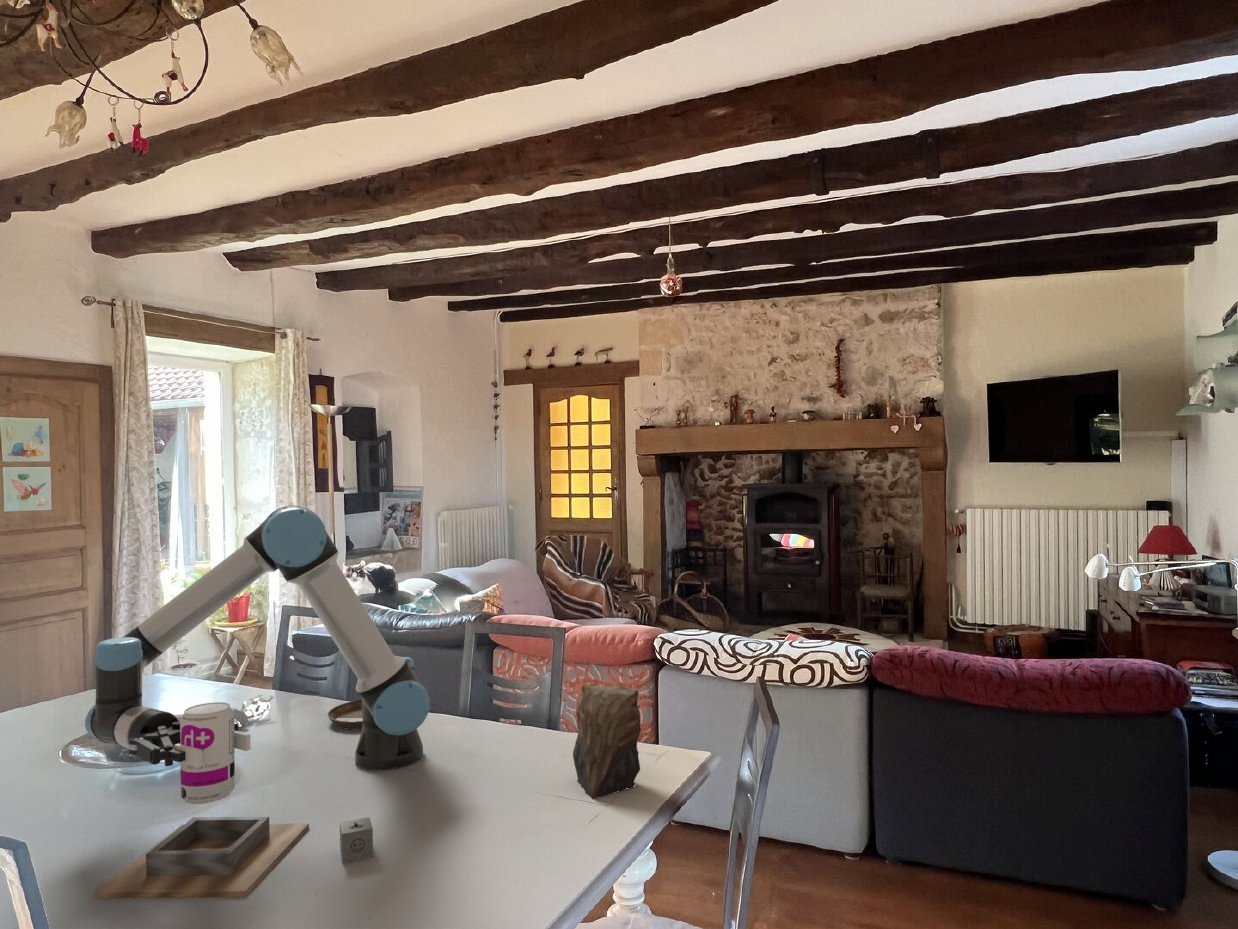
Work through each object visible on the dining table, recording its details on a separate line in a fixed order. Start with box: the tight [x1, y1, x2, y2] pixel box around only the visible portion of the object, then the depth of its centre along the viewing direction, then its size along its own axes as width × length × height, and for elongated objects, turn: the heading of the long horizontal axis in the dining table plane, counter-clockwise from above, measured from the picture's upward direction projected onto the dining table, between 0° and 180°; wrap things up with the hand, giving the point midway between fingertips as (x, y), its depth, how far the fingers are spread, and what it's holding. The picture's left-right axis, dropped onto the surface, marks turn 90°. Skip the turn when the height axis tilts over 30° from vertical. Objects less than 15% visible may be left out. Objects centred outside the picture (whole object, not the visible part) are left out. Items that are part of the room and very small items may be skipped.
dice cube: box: [339, 816, 374, 864], centre depth 138 cm, size 5×5×5 cm
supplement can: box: [179, 701, 236, 805], centre depth 137 cm, size 8×8×15 cm
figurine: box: [231, 694, 274, 728], centre depth 215 cm, size 9×6×12 cm
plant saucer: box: [327, 698, 363, 730], centre depth 215 cm, size 21×21×3 cm
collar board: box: [94, 816, 310, 899], centre depth 137 cm, size 24×24×5 cm
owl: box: [572, 683, 642, 800], centre depth 167 cm, size 13×13×20 cm
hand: (224, 750), depth 135 cm, fingers closed on supplement can, 8 cm apart
